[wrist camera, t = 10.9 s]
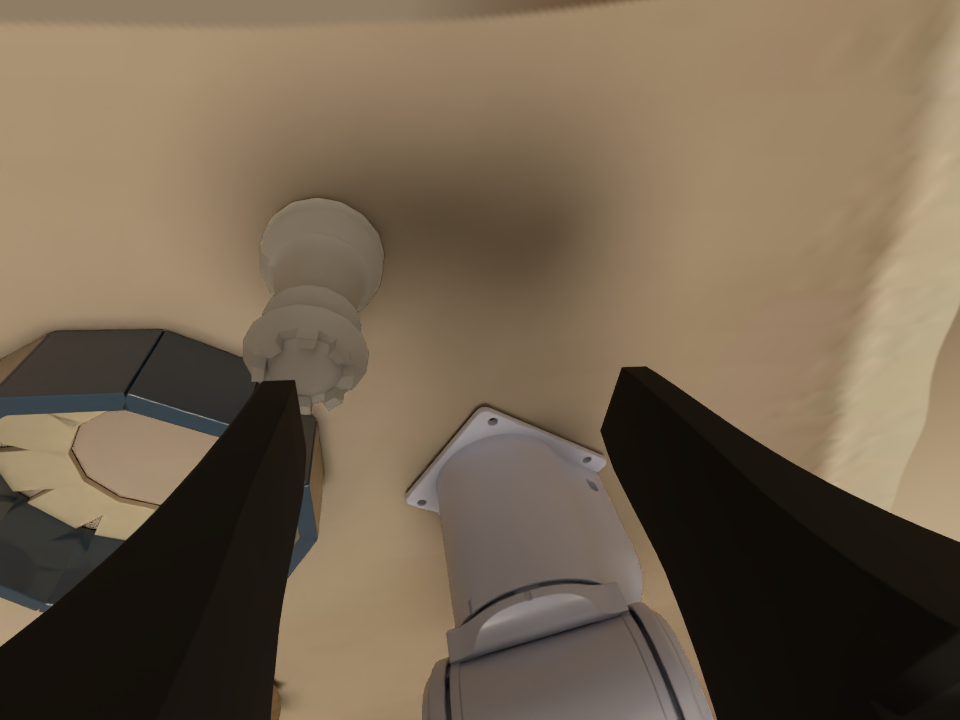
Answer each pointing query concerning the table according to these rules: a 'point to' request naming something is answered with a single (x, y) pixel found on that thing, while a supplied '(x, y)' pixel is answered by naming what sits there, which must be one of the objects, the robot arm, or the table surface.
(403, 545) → the table surface
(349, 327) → the rook chess piece
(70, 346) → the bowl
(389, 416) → the table surface
